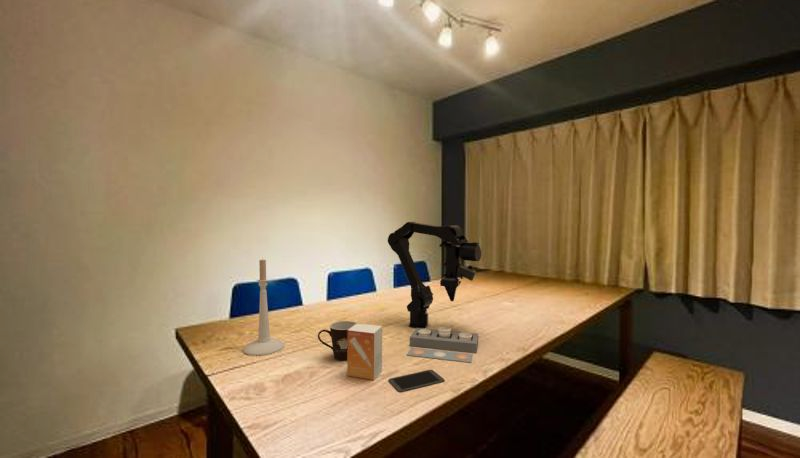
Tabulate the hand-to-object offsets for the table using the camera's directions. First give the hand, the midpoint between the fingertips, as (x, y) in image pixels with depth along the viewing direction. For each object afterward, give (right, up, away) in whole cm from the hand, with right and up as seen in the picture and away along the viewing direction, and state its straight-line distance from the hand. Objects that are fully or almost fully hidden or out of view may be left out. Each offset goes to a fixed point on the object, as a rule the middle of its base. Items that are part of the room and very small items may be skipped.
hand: (452, 300), depth 130 cm
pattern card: (-7, -13, -20) cm, 25 cm away
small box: (-29, -14, -33) cm, 46 cm away
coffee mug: (-38, -13, -21) cm, 46 cm away
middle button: (-4, -11, -11) cm, 16 cm away
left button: (-11, -12, -9) cm, 18 cm away
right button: (+2, -12, -13) cm, 18 cm away
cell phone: (-15, -14, -37) cm, 42 cm away
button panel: (-4, -13, -11) cm, 17 cm away
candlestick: (-65, -13, -14) cm, 67 cm away
